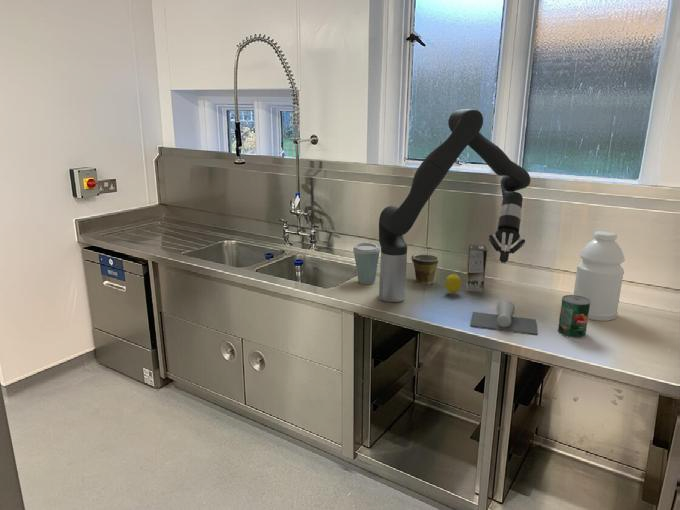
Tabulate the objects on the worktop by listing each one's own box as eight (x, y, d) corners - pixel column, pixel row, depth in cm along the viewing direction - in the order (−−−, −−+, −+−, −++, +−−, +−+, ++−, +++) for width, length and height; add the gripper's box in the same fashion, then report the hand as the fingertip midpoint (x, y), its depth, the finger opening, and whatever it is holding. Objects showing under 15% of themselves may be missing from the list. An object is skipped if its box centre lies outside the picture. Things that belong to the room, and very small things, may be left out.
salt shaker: (496, 298, 173) (492, 314, 162) (514, 296, 171) (512, 313, 159) (498, 314, 175) (495, 331, 163) (516, 312, 172) (514, 330, 161)
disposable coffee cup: (383, 285, 203) (384, 247, 199) (356, 287, 200) (357, 249, 196) (374, 277, 213) (375, 241, 209) (349, 278, 210) (349, 242, 206)
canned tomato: (583, 340, 155) (588, 305, 152) (555, 334, 159) (560, 300, 156) (587, 331, 162) (592, 298, 159) (560, 325, 166) (564, 293, 163)
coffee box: (483, 292, 196) (487, 250, 192) (466, 290, 197) (469, 249, 193) (482, 284, 205) (485, 244, 200) (465, 283, 206) (468, 243, 202)
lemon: (461, 293, 195) (463, 272, 193) (458, 297, 190) (459, 276, 188) (446, 290, 197) (448, 270, 195) (443, 295, 192) (444, 274, 190)
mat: (472, 313, 175) (472, 311, 175) (535, 320, 170) (535, 319, 169) (469, 326, 164) (470, 325, 164) (537, 335, 158) (537, 333, 158)
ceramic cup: (442, 283, 206) (444, 258, 203) (423, 287, 200) (425, 262, 198) (420, 274, 216) (421, 251, 213) (401, 278, 211) (402, 254, 208)
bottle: (597, 324, 167) (610, 239, 160) (561, 310, 179) (572, 230, 171) (625, 317, 173) (639, 235, 166) (589, 303, 185) (600, 226, 178)
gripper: (491, 211, 187) (484, 254, 180) (530, 216, 183) (524, 260, 177) (490, 221, 194) (483, 263, 187) (527, 226, 190) (521, 269, 183)
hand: (503, 262), depth 182 cm, fingers closed
